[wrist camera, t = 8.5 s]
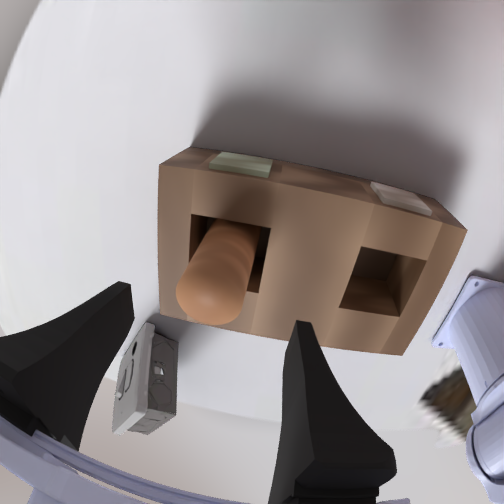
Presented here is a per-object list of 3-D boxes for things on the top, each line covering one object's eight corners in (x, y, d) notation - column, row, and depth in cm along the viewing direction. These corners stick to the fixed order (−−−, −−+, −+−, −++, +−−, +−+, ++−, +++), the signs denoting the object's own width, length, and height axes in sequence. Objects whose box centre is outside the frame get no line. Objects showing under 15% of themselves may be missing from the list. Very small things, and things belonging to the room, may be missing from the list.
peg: (266, 208, 19) (248, 280, 12) (256, 248, 21) (236, 331, 14) (220, 197, 19) (177, 262, 12) (213, 238, 21) (174, 315, 14)
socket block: (436, 195, 18) (469, 225, 14) (388, 311, 23) (401, 355, 19) (190, 142, 19) (159, 159, 14) (182, 273, 24) (160, 314, 20)
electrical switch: (148, 316, 27) (116, 399, 19) (196, 341, 28) (177, 426, 21) (121, 359, 31) (95, 426, 24) (160, 378, 33) (142, 447, 25)
